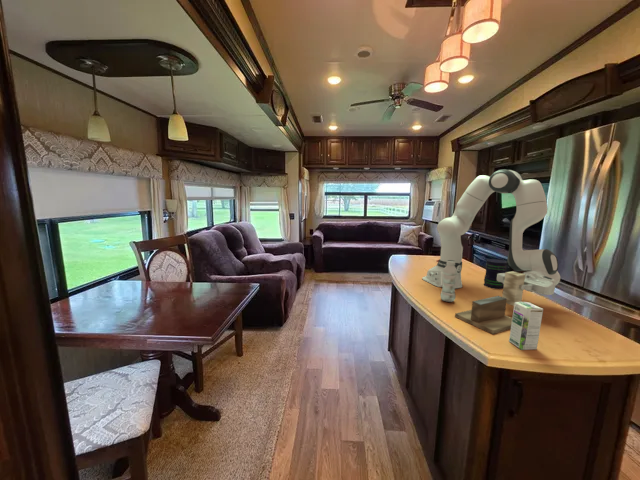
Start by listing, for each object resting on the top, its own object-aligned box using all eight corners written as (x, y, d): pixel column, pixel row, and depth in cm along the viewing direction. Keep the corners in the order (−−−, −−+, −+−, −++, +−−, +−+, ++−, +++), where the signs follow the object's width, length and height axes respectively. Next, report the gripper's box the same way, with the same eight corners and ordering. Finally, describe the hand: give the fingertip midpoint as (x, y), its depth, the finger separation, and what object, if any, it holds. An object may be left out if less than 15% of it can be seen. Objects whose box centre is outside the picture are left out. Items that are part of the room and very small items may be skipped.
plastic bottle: (456, 301, 132) (460, 260, 129) (452, 304, 127) (456, 263, 124) (442, 297, 136) (446, 258, 133) (438, 301, 131) (441, 260, 128)
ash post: (501, 301, 117) (505, 272, 115) (508, 300, 119) (512, 271, 117) (513, 305, 113) (518, 275, 111) (521, 304, 115) (525, 274, 113)
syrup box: (508, 341, 95) (513, 301, 93) (523, 340, 95) (529, 301, 93) (521, 350, 89) (527, 308, 87) (538, 349, 90) (544, 308, 88)
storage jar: (479, 284, 158) (482, 259, 156) (491, 282, 161) (494, 258, 159) (495, 290, 149) (499, 263, 146) (508, 288, 152) (511, 262, 150)
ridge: (454, 316, 114) (456, 296, 112) (483, 310, 121) (485, 290, 120) (492, 334, 100) (495, 311, 98) (522, 325, 107) (525, 303, 106)
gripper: (508, 268, 129) (489, 271, 123) (560, 281, 111) (540, 285, 105) (506, 281, 130) (487, 284, 124) (557, 295, 112) (538, 300, 106)
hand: (512, 285), depth 114 cm, fingers closed on ash post, 5 cm apart
